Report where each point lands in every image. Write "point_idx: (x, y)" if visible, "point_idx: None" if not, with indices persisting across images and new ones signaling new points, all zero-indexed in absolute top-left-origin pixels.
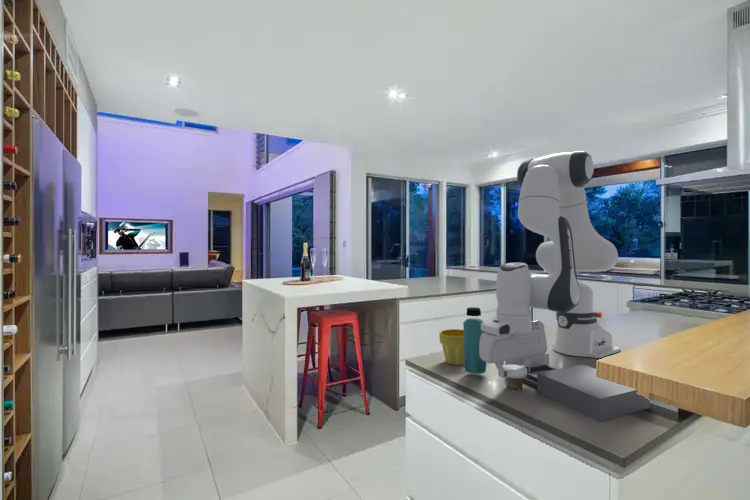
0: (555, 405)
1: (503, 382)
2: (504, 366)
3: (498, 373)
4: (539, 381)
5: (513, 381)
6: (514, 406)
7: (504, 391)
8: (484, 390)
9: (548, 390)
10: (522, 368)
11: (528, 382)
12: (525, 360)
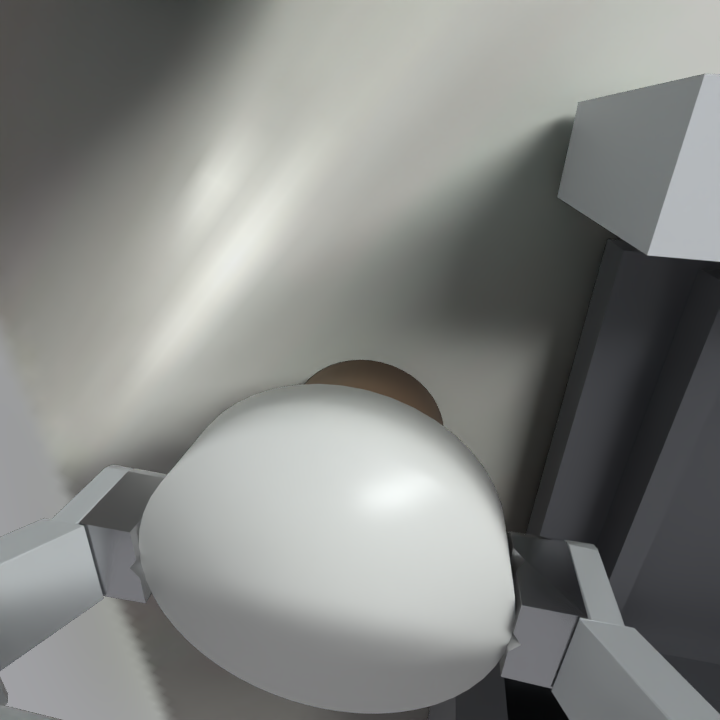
0: (368, 714)
1: (363, 276)
2: (232, 475)
3: (94, 478)
4: (450, 703)
5: None
6: (131, 604)
7: None
8: (58, 333)
9: (437, 714)
10: (421, 656)
11: (545, 481)
12: (649, 715)
